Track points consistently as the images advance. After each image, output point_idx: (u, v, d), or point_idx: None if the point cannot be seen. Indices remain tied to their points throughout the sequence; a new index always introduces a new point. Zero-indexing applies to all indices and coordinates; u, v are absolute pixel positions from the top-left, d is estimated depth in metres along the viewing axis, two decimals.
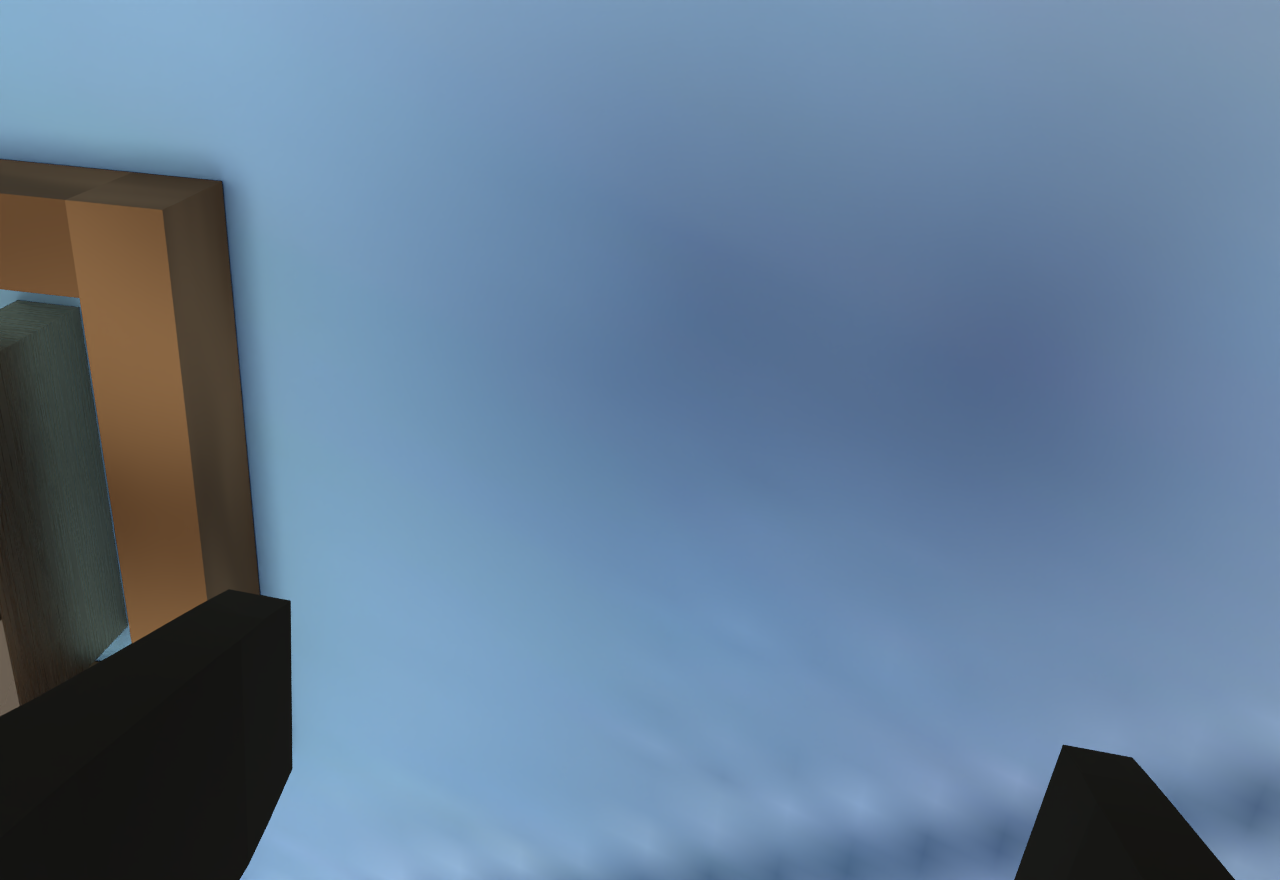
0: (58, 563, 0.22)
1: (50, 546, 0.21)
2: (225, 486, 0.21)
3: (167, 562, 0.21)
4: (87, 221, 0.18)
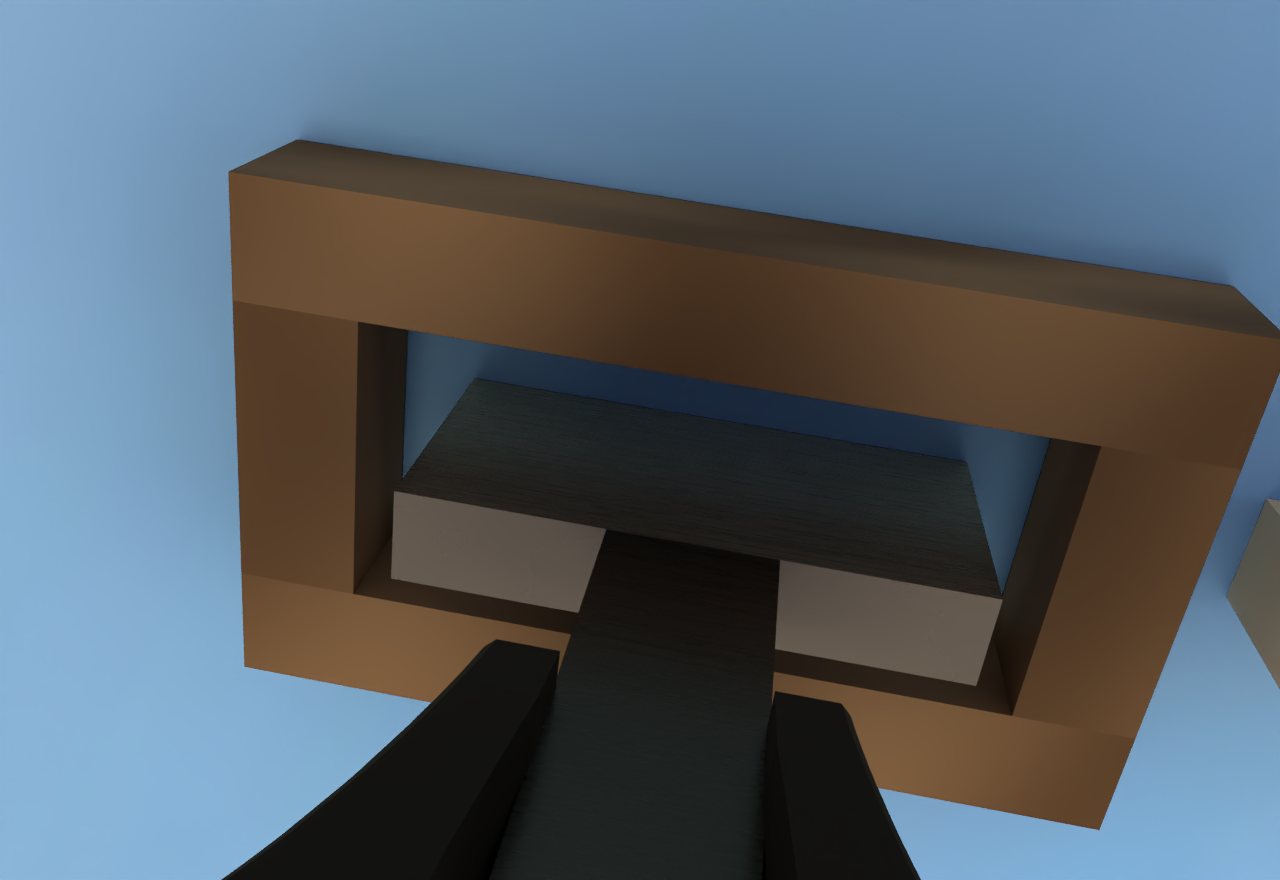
0: (776, 490, 0.15)
1: (738, 488, 0.15)
2: (690, 220, 0.14)
3: (764, 314, 0.13)
4: (256, 279, 0.14)
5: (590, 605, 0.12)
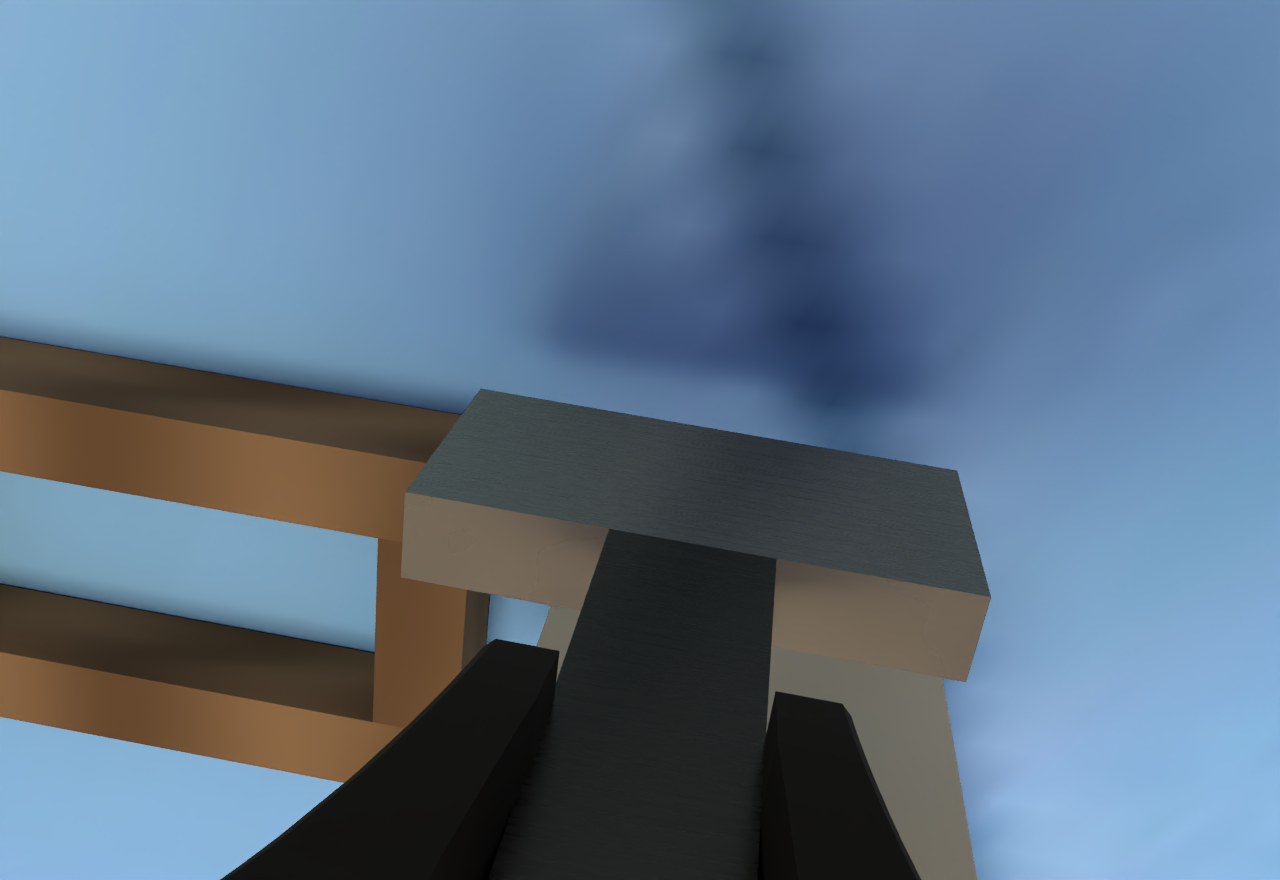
0: (772, 494, 0.15)
1: (737, 493, 0.15)
2: (114, 379, 0.21)
3: (143, 449, 0.20)
4: None
5: (594, 598, 0.12)
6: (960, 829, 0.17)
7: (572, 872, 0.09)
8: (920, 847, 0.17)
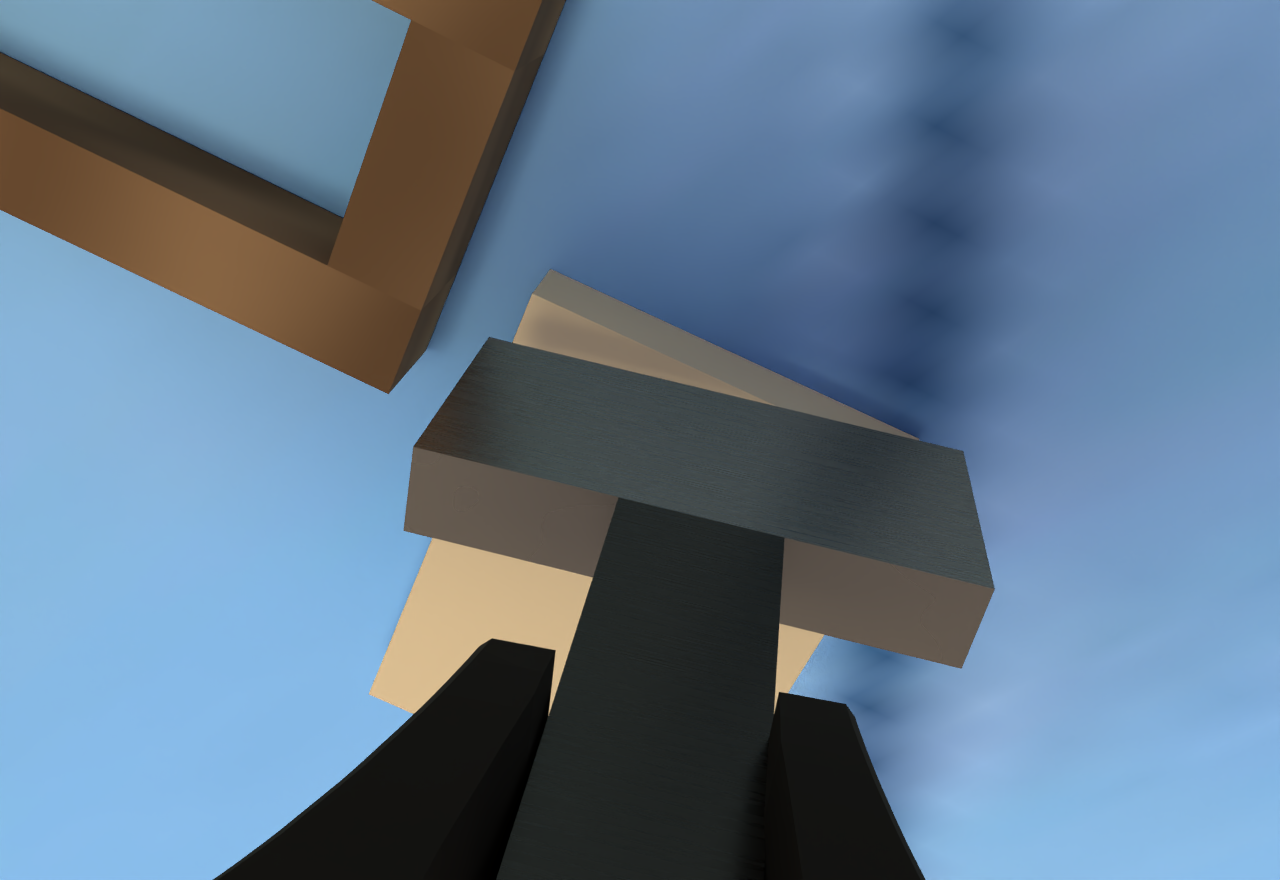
0: (781, 467, 0.15)
1: (745, 464, 0.15)
2: None
3: None
4: None
5: (604, 571, 0.12)
6: (777, 695, 0.21)
7: (583, 864, 0.09)
8: None
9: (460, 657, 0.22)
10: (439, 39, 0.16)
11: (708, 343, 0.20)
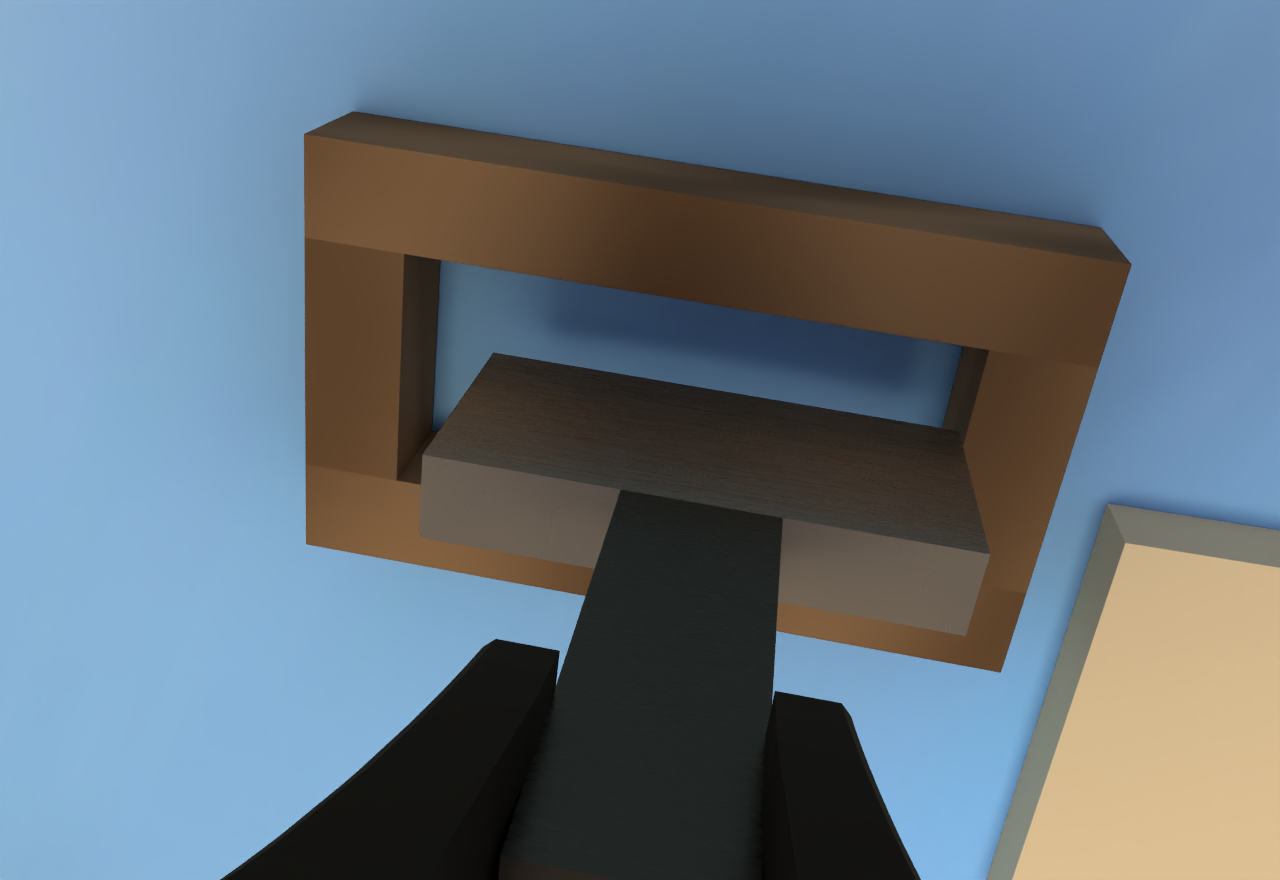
0: (779, 455, 0.16)
1: (743, 454, 0.16)
2: (667, 174, 0.18)
3: (724, 246, 0.17)
4: (324, 220, 0.18)
5: (607, 556, 0.13)
6: None
7: (590, 815, 0.09)
8: None
9: None
10: (1019, 359, 0.17)
11: None
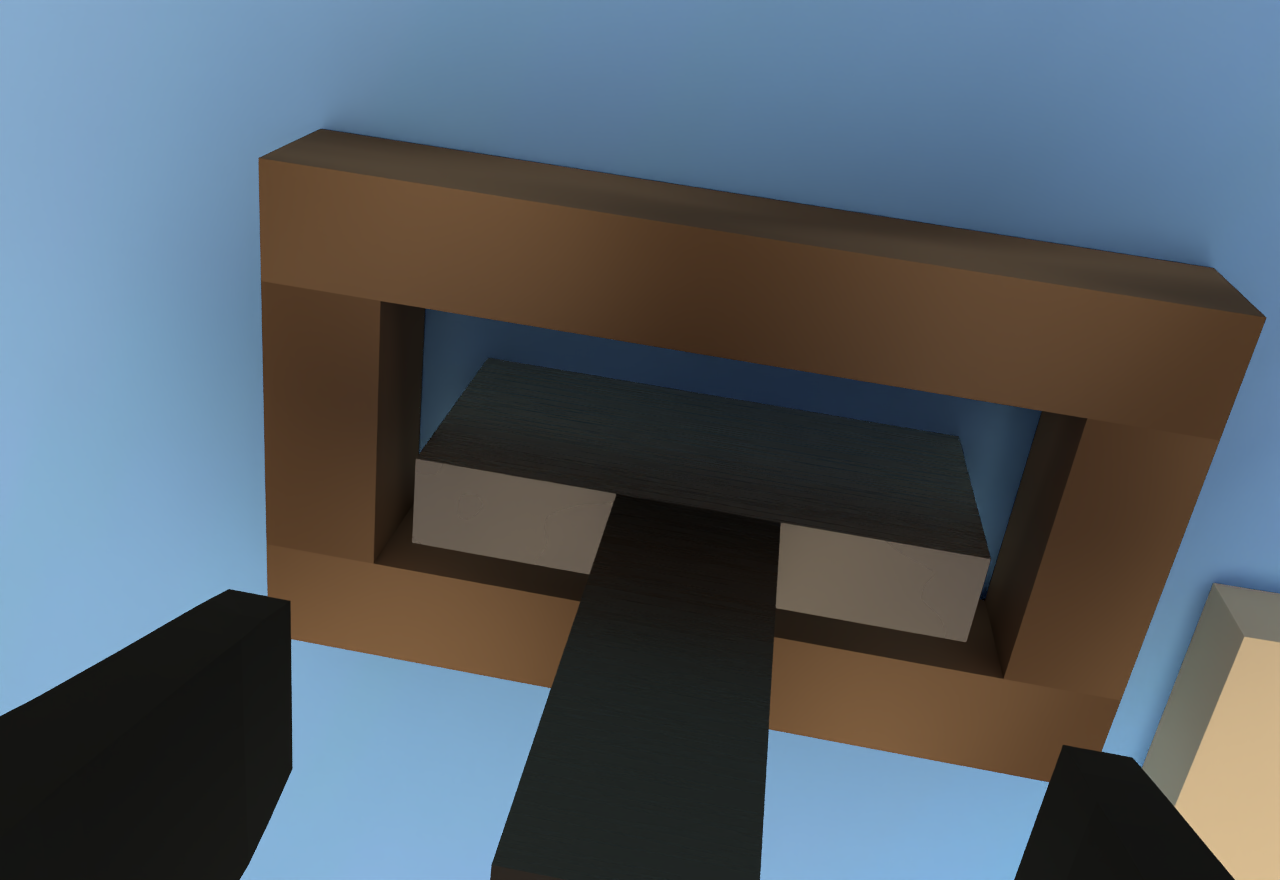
0: (777, 460, 0.15)
1: (740, 458, 0.15)
2: (696, 204, 0.15)
3: (767, 293, 0.14)
4: (283, 260, 0.15)
5: (602, 561, 0.13)
6: None
7: (584, 823, 0.09)
8: None
9: None
10: (1123, 430, 0.14)
11: None
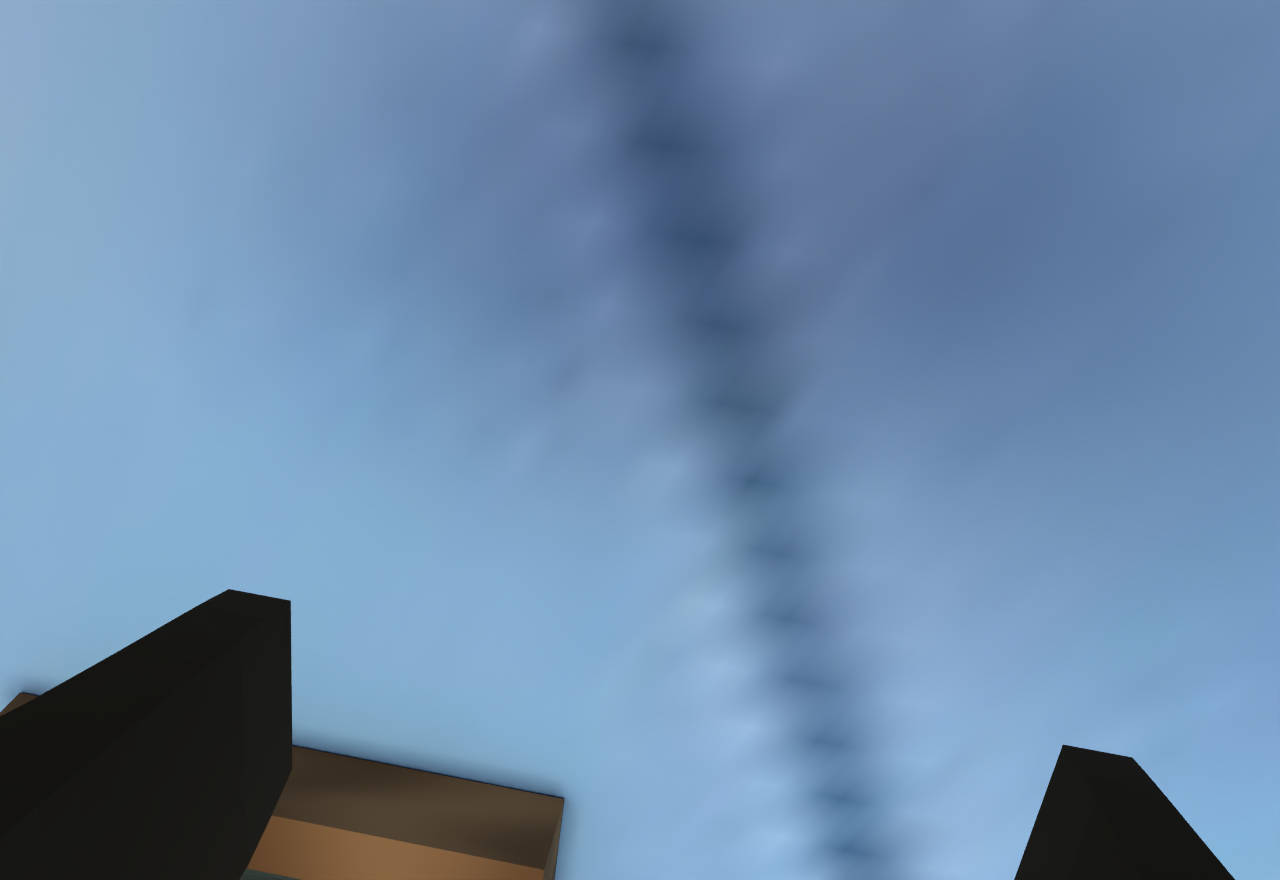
0: None
1: None
2: None
3: (264, 839, 0.24)
4: None
5: None
6: None
7: None
8: None
9: None
10: None
11: None
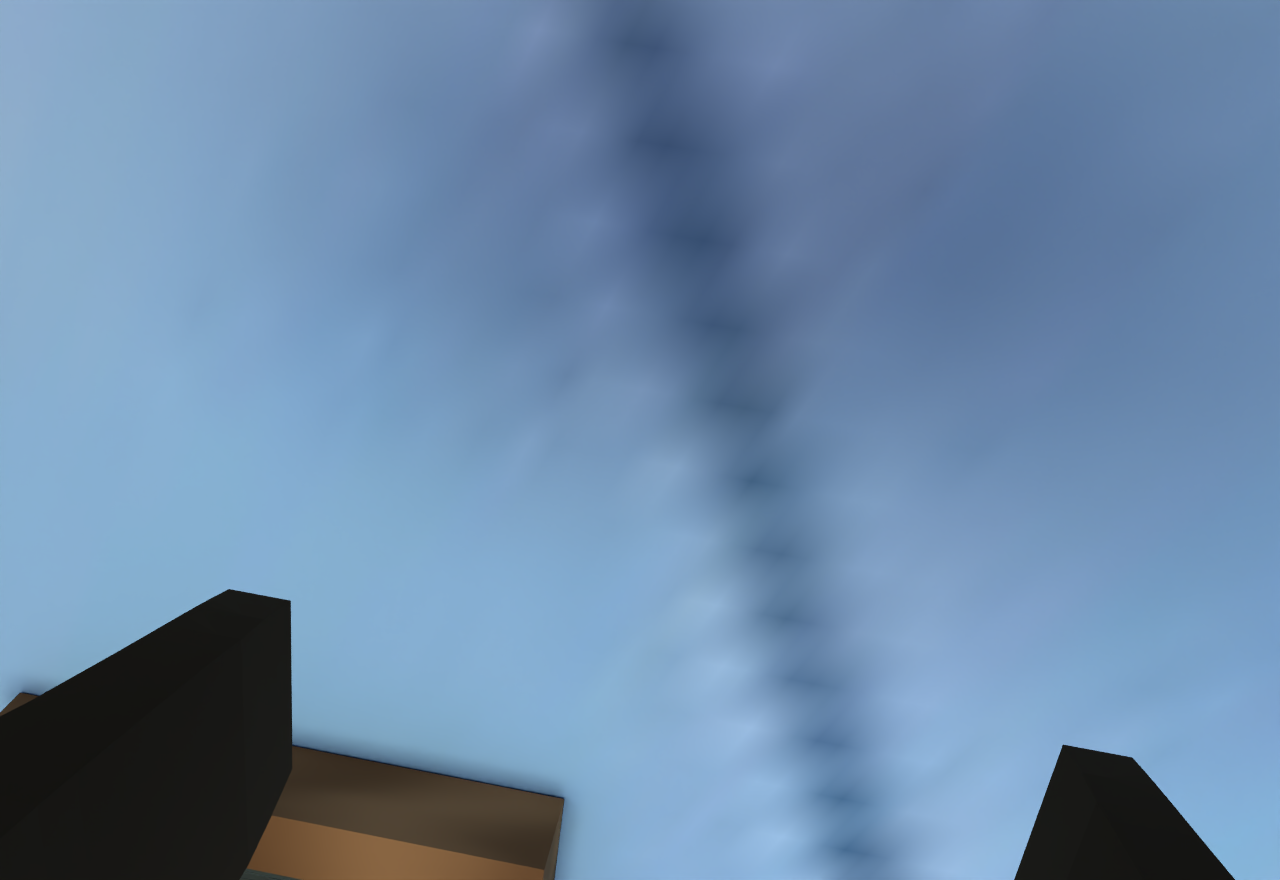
0: None
1: None
2: None
3: (264, 839, 0.24)
4: None
5: None
6: None
7: None
8: None
9: None
10: None
11: None
